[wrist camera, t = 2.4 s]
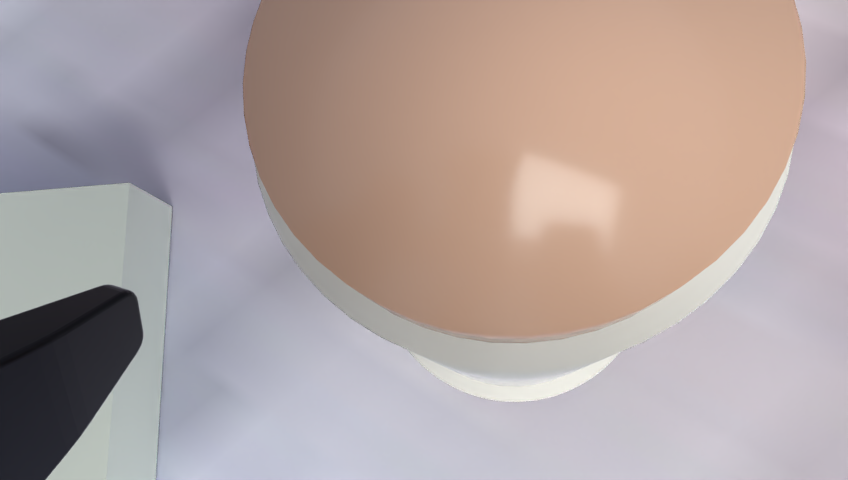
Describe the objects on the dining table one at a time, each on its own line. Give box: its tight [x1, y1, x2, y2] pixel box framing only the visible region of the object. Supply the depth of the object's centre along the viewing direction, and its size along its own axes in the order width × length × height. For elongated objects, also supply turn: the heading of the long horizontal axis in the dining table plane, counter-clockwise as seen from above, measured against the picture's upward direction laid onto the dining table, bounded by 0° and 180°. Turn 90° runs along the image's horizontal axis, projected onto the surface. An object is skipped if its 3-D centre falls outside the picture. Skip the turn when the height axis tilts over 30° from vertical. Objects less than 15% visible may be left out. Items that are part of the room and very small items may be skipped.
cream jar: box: [243, 0, 806, 402], centre depth 13 cm, size 7×7×13 cm
